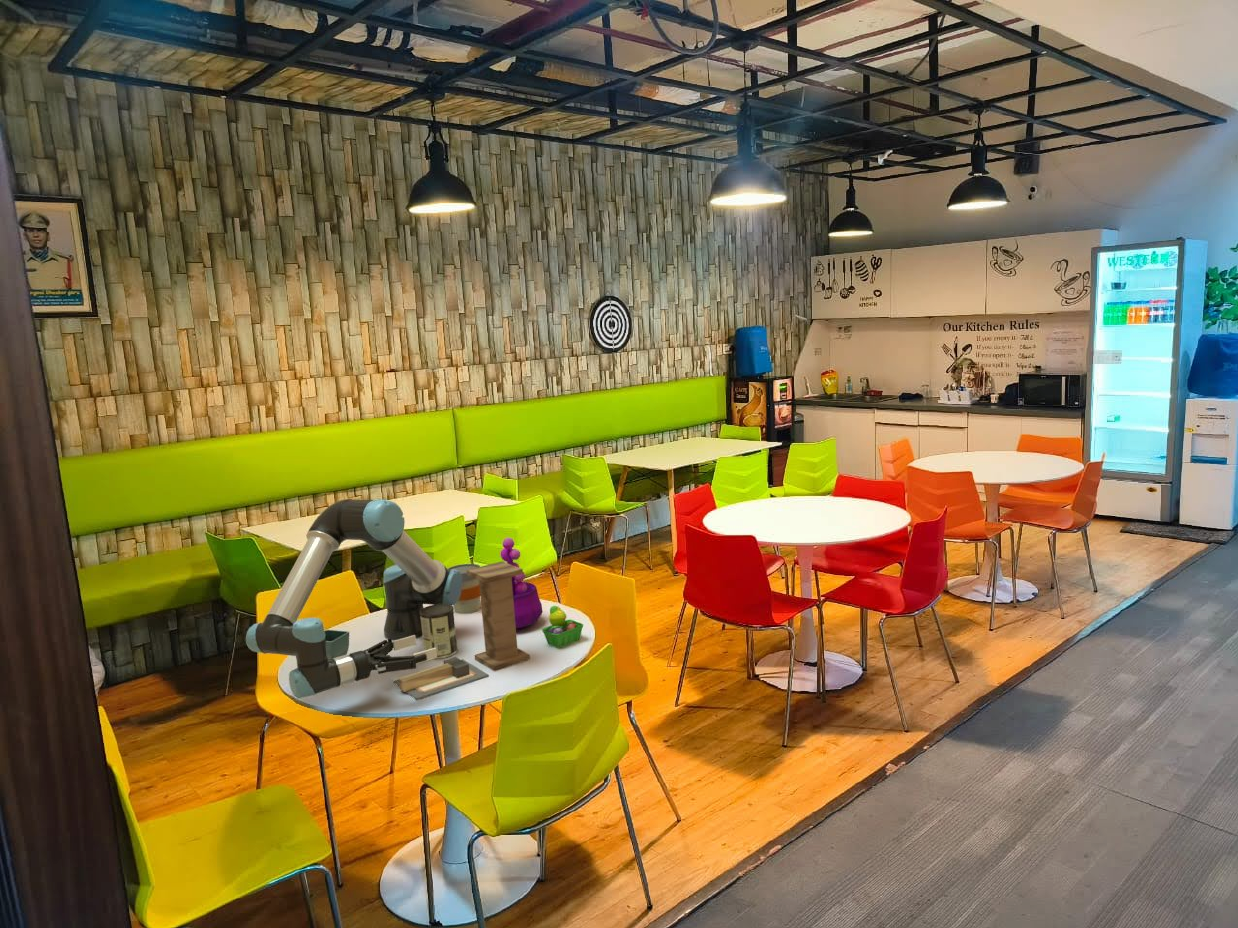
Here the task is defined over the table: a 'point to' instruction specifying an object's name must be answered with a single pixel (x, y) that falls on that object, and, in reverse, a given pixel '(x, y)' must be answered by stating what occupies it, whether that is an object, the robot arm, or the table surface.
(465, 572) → the reusable coffee cup
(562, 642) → the fruit basket
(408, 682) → the wooden handled hammer
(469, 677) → the pad
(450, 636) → the coffee can
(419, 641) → the table surface
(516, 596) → the decorative plant
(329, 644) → the flower pot
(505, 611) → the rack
